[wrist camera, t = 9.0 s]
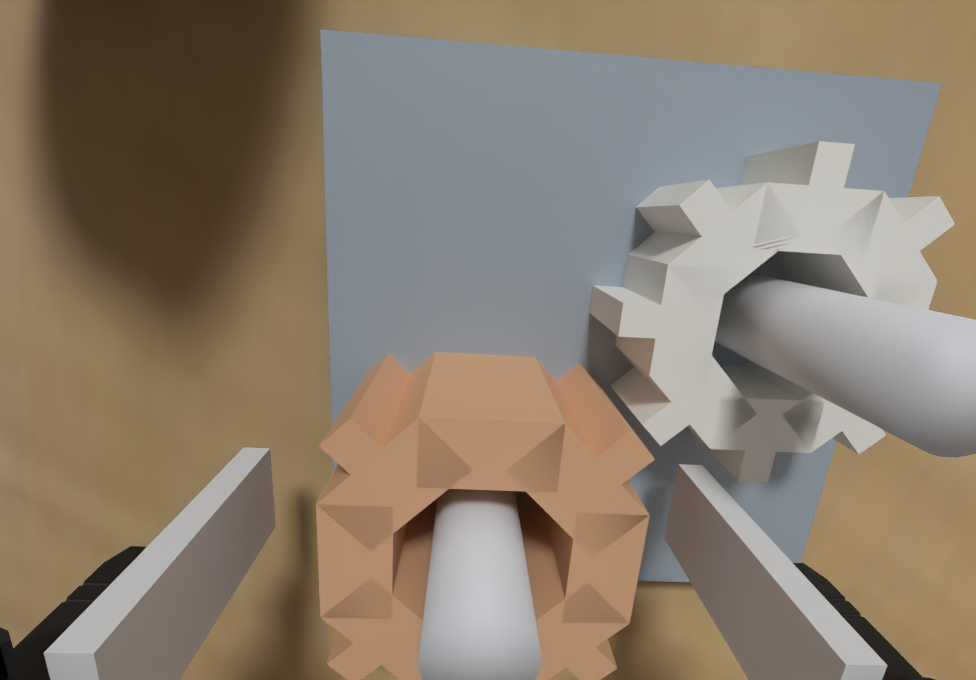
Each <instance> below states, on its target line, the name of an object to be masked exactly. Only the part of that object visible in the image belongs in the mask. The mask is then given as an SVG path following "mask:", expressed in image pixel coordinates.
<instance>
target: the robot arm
mask: <svg viewBox="0 0 976 680" xmlns="http://www.w3.org/2000/svg"><path fill="white" fill-rule="evenodd" d="M274 528H275V513H274V498H273V484H272V470H271V455H270V448H246V447H244V448H243V449H242V450H241V451H240V452H239V453H238V454H237V455H236V456H235V457H234V458H233V459H232V460H231V461H230V462H229V463H228V464H227V465H226V466H225V467H224V468H223V469H222V471H221V472H220V473H219V474H218V475H217V476H216V477H215V478H214V479H213V480H212V481H211V482H210V483H209V484H208V485H207V486H206V487H205V488H204V489H203V490H202V491H201V492H200V493H199V494H198V495H197V496H196V497H195V498H194V499H193V500H192V501H191V502H190V503H189V504H188V505H187V506H186V507H185V508H184V509H183V510H182V512H181V513H180V514H179V515H178V516H177V517H176V518H175V519H174V520H173V521H172V522H171V523H170V524H169V525H168V526H167V527H166V528H165V529H164V530H163V531H162V532H161V533H160V534H159V535H158V536H157V537H156V538H155V539H154V540H153V541H152V542H151V543H150V544H149V545H148V546H147V547H136V546H131V547H129V548H127V549H126V550H124V551H122V552H121V553H119V554H117V555H116V556H114V557H112V558H111V559H109V560H108V561H106V562H104V563H103V564H102V565H101V566H100V567H99V568H98V569H97V570H96V571H95V572H94V573H93V574H92V575H91V576H89V577H88V578H87V579H86V580H85V581H84V584H83V585H82V586H79V587H78V588H77V589H76V590H75V591H74V592H73V593H72V594H70V595H69V596H68V597H67V600H66V602H62V603H61V604H60V605H59V606H58V607H57V608H56V609H55V610H54V611H53V612H52V613H50V614H49V615H48V616H47V617H46V618H45V619H44V620H43V621H42V622H41V623H40V624H39V625H38V626H37V627H36V628H35V629H34V630H33V631H31V632H30V633H29V634H28V635H27V636H26V637H25V638H24V639H23V640H22V641H21V642H20V643H19V644H18V645H17V646H16V647H15V648H14V649H13V646H12V643H11V639H10V636H9V632H8V631H7V630H5V629H3V628H0V680H179V679H180V678H181V676H182V675H183V673H184V671H185V670H186V668H187V667H188V665H189V664H190V662H191V660H192V659H193V657H194V656H195V654H196V652H197V651H198V649H199V648H200V646H201V644H202V643H203V641H204V640H205V638H206V636H207V635H208V633H209V632H210V630H211V628H212V627H213V625H214V624H215V622H216V620H217V619H218V617H219V616H220V614H221V612H222V611H223V609H224V608H225V606H226V605H227V603H228V601H229V600H230V598H231V597H232V595H233V593H234V592H235V590H236V589H237V587H238V585H239V584H240V582H241V581H242V579H243V577H244V576H245V574H246V573H247V571H248V569H249V568H250V566H251V565H252V563H253V561H254V560H255V558H256V557H257V555H258V553H259V552H260V550H261V549H262V547H263V545H264V544H265V542H266V541H267V539H268V538H269V536H270V534H271V533H272V531H273V530H274ZM664 539H665V541H666V542H667V544H668V546H669V547H670V549H671V551H672V552H673V554H674V556H675V557H676V559H677V561H678V562H679V564H680V566H681V567H682V569H683V571H684V572H685V574H686V576H687V577H688V579H689V581H690V582H691V584H692V586H693V587H694V589H695V591H696V592H697V594H698V596H699V597H700V599H701V601H702V602H703V604H704V606H705V607H706V609H707V611H708V612H709V614H710V616H711V617H712V619H713V621H714V622H715V624H716V626H717V627H718V629H719V631H720V632H721V634H722V636H723V637H724V639H725V641H726V642H727V644H728V646H729V647H730V649H731V651H732V652H733V654H734V656H735V657H736V659H737V661H738V662H739V664H740V666H741V667H742V669H743V671H744V672H745V674H746V676H747V677H748V679H749V680H934V679H931V678H925V677H922V676H921V675H920V674H919V673H918V672H917V671H916V670H915V669H914V668H913V667H912V666H911V665H910V664H909V663H908V662H907V661H906V660H905V659H904V658H903V657H902V656H901V655H900V654H899V652H898V651H897V650H896V649H895V648H894V647H893V646H892V645H891V644H890V643H889V642H888V641H887V640H886V639H885V638H884V637H883V636H882V635H881V634H880V633H879V632H878V631H877V630H876V629H875V628H874V627H873V626H872V625H871V624H870V623H869V622H868V621H867V620H866V619H865V618H864V617H861V616H860V613H859V612H858V611H857V610H856V609H855V608H854V607H853V605H852V604H851V603H850V602H848V601H845V597H844V596H843V595H842V594H841V593H840V592H839V591H838V590H837V589H836V588H835V587H834V586H833V585H832V584H831V583H830V582H829V581H828V580H827V579H826V578H824V577H823V576H821V575H820V574H818V573H817V572H816V571H814V570H813V569H811V568H810V567H808V566H807V565H805V564H804V563H792V562H791V561H790V560H789V559H788V557H787V556H786V555H785V554H784V553H783V552H782V551H781V550H780V549H779V548H778V547H777V546H776V544H775V543H774V542H773V541H772V540H771V539H770V538H769V537H768V536H767V535H766V534H765V533H764V532H763V530H762V529H761V528H760V527H759V526H758V525H757V524H756V523H755V522H754V521H753V520H752V519H751V517H750V516H749V515H748V514H747V513H746V512H745V511H744V510H743V509H742V508H741V507H740V506H739V505H738V503H737V502H736V501H735V500H734V499H733V498H732V497H731V496H730V495H729V494H728V493H727V492H726V490H725V489H724V488H723V487H722V486H721V485H720V484H719V483H718V482H717V481H716V480H715V479H714V478H713V476H712V475H711V474H710V473H709V472H708V471H707V470H706V469H705V468H704V467H703V466H702V465H686V464H678V469H677V474H676V480H675V485H674V490H673V495H672V500H671V505H670V510H669V515H668V520H667V525H666V530H665V536H664Z"/></svg>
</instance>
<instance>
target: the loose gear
mask: <svg viewBox="0 0 976 680" xmlns="http://www.w3.org/2000/svg"><path fill="white" fill-rule="evenodd" d="M319 447H320V448H321V449H322V450H324V451H325V452H326V453H327V454H328V455H329V456H330V457H331V458H333V459H334V460H335V461H336V462H337V463H338V464H337V466H336V468H335V469H334V471H333V473H332V475H331V477H330V479H329V481H328V483H327V484H326V486H325V488H324V490H323V492H322V494H321V496H320V498H319V499H318V501H317V503H316V519H317V544H318V569H319V593H320V618H322V619H323V620H324V621H326V622H327V623H328V624H329V625H331V626H332V627H333V628H335V629H336V630H337V634H336V637H335V640H334V643H333V646H332V649H331V652H330V656H329V659H328V662H327V665H329V666H330V667H331V668H332V669H334V670H335V671H336V672H338V673H339V674H340V675H342V676H343V677H344V678H346V679H347V680H362V679H363V678H364V677H366V676H367V675H368V674H370V673H371V672H372V671H374V670H375V669H376V668H378V667H379V666H380V665H382V666H383V667H384V668H386V669H387V670H388V671H389V672H391V673H392V674H393V675H395V676H396V677H397V678H398V679H400V680H423V679H422V676H421V674H420V671H419V665H418V658H419V650H420V641H421V633H422V624H423V616H424V607H425V599H426V590H427V582H428V573H429V565H430V556H431V548H432V539H433V531H434V522H435V514H436V505H437V502H436V501H435V500H436V499H437V498H438V497H439V496H441V495H442V494H443V493H444V492H446V491H447V490H448V489H470V490H499V491H526V492H527V493H528V494H527V495H526V496H525V497H523V498H522V499H521V500H519V501H518V502H517V507H518V513H519V520H520V526H521V532H522V538H523V544H524V551H525V557H526V563H527V569H528V576H529V582H530V588H531V594H532V600H533V607H534V613H535V619H536V625H537V631H538V638H539V644H540V650H541V665H540V669H539V672H538V674H537V676H536V678H535V680H549V679H550V678H552V677H553V676H555V675H556V674H557V673H559V672H560V671H562V670H563V669H565V668H567V669H568V670H569V671H570V672H571V673H572V674H574V675H575V676H576V677H577V678H578V679H579V680H601V679H602V678H604V677H605V676H607V675H608V674H610V673H611V672H613V671H614V670H616V669H617V666H616V663H615V660H614V657H613V653H612V650H611V647H610V644H609V641H608V638H610V637H611V636H612V635H614V634H615V633H617V632H618V631H620V630H621V629H623V628H624V627H626V626H627V625H628V624H630V619H631V614H632V608H633V603H634V597H635V592H636V587H637V581H638V576H639V570H640V565H641V560H642V554H643V549H644V543H645V538H646V532H647V527H648V522H649V516H650V515H649V513H648V512H647V510H646V508H645V507H644V505H643V503H642V502H641V500H640V498H639V497H638V495H637V493H636V492H635V490H634V488H633V486H632V485H631V483H630V481H629V480H628V479H630V478H631V477H632V476H634V475H635V474H636V473H638V472H639V471H640V470H642V469H643V468H644V467H646V466H647V465H648V464H650V463H651V462H652V461H654V460H655V458H654V457H653V456H652V454H651V453H650V452H649V450H648V449H647V448H646V447H645V445H644V444H643V443H642V441H641V440H640V439H639V437H638V436H637V435H636V433H635V432H634V431H633V429H632V428H631V427H630V425H629V424H628V423H627V421H626V420H625V419H624V417H623V416H622V415H621V413H620V412H619V411H618V409H617V408H616V407H615V406H614V404H613V403H612V402H611V400H610V399H609V398H608V396H607V395H606V394H605V392H604V391H603V390H602V388H601V387H600V386H599V384H598V383H597V382H596V381H595V380H594V378H593V377H592V376H591V375H590V374H589V373H588V372H587V370H586V369H585V368H584V367H583V366H582V365H581V364H580V363H578V364H577V365H576V366H575V367H574V368H572V369H571V370H570V371H569V372H567V373H566V374H565V375H564V376H563V377H561V378H560V379H559V380H558V381H556V380H555V379H554V378H553V377H552V376H551V374H550V373H549V372H548V371H547V370H546V369H545V368H544V367H543V365H542V364H541V363H540V362H539V361H538V360H537V359H536V358H535V357H525V356H505V355H485V354H466V353H446V352H435V353H434V354H433V355H432V356H430V357H429V358H428V359H427V360H426V361H425V362H424V363H422V364H421V365H420V366H419V367H418V368H417V369H415V370H414V371H413V372H412V373H411V374H409V373H408V372H407V371H406V370H405V369H404V367H403V366H402V365H401V364H400V363H399V362H398V361H397V360H396V359H395V358H394V357H393V356H392V355H391V354H390V353H388V354H387V355H386V356H385V357H384V358H383V359H381V360H380V361H379V362H378V363H377V364H376V365H375V366H374V367H372V368H371V369H370V370H369V371H368V372H367V373H366V375H365V376H364V378H363V379H362V381H361V382H360V384H359V385H358V387H357V388H356V390H355V392H354V393H353V395H352V396H351V398H350V399H349V401H348V402H347V404H346V405H345V407H344V408H343V410H342V411H341V413H340V414H339V416H338V417H337V419H336V420H335V422H334V423H333V425H332V426H331V428H330V430H329V431H328V433H327V434H326V436H325V437H324V439H323V440H322V442H321V443H320V445H319Z"/></svg>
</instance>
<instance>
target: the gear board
mask: <svg viewBox="0 0 976 680" xmlns="http://www.w3.org/2000/svg"><path fill="white" fill-rule="evenodd" d="M320 34H321V69H322V103H323V138H324V172H325V207H326V241H327V276H328V310H329V345H330V379H331V414H332V425H333V423H334V422H335V420H336V419H337V417H338V416H339V414H340V413H341V411H342V410H343V408H344V407H345V405H346V404H347V402H348V401H349V399H350V398H351V396H352V395H353V393H354V392H355V390H356V388H357V387H358V385H359V384H360V382H361V381H362V379H363V378H364V376H365V375H366V373H367V372H368V371H369V370H370V369H371V368H372V367H374V366H375V365H376V364H377V363H378V362H379V361H380V360H381V359H383V358H384V357H385V356H386V355H387V354H388V353H390V354H391V355H392V356H393V357H394V358H395V359H396V360H397V361H398V362H399V363H400V364H401V365H402V366H403V367H404V369H405V370H406V371H407V372H408V373H409V374H411V373H412V372H413V371H414V370H415V369H417V368H418V367H419V366H420V365H421V364H422V363H424V362H425V361H426V360H427V359H428V358H429V357H430V356H432V355H433V354H434V353H435V352H446V353H466V354H485V355H505V356H525V357H535V358H536V359H537V360H538V361H539V362H540V363H541V364H542V365H543V367H544V368H545V369H546V370H547V371H548V372H549V373H550V374H551V376H552V377H553V378H554V379H555V380H556V381H558V380H559V379H560V378H561V377H563V376H564V375H565V374H566V373H567V372H569V371H570V370H571V369H572V368H574V367H575V366H576V365H577V364H578V363H580V364H581V365H582V366H583V367H584V368H585V369H586V370H587V372H588V373H589V374H590V375H591V376H592V377H593V378H594V380H595V381H596V382H597V383H598V384H599V386H600V387H601V388H602V390H603V391H604V392H605V394H606V395H607V396H608V398H609V399H610V400H611V402H612V403H613V404H614V406H615V407H616V408H617V409H618V411H619V412H620V413H621V415H622V416H623V417H624V419H625V420H626V421H627V423H628V424H629V425H630V427H631V428H632V429H633V431H634V432H635V433H636V435H637V436H638V437H639V439H640V440H641V441H642V443H643V444H644V445H645V447H646V448H647V449H648V450H649V452H650V453H651V454H652V456H653V457H654V458H655V460H654V461H652V462H651V463H650V464H648V465H647V466H646V467H644V468H643V469H642V470H640V471H639V472H638V473H636V474H635V475H634V476H632V477H631V478H630V479H628V480H629V481H630V483H631V485H632V486H633V488H634V490H635V492H636V493H637V495H638V497H639V498H640V500H641V502H642V503H643V505H644V507H645V508H646V510H647V512H648V513H649V515H650V516H649V522H648V527H647V532H646V538H645V543H644V549H643V554H642V560H641V565H640V570H639V576H638V581H659V582H690V581H689V579H688V577H687V576H686V574H685V572H684V571H683V569H682V567H681V566H680V564H679V562H678V561H677V559H676V557H675V556H674V554H673V552H672V551H671V549H670V547H669V546H668V544H667V542H666V541H665V539H664V536H665V530H666V525H667V520H668V515H669V510H670V505H671V500H672V495H673V490H674V485H675V480H676V474H677V469H678V464H686V465H702V466H703V467H704V468H705V469H706V470H707V471H708V472H709V473H710V474H711V475H712V476H713V478H714V479H715V480H716V481H717V482H718V483H719V484H720V485H721V486H722V487H723V488H724V489H725V490H726V492H727V493H728V494H729V495H730V496H731V497H732V498H733V499H734V500H735V501H736V502H737V503H738V505H739V506H740V507H741V508H742V509H743V510H744V511H745V512H746V513H747V514H748V515H749V516H750V517H751V519H752V520H753V521H754V522H755V523H756V524H757V525H758V526H759V527H760V528H761V529H762V530H763V532H764V533H765V534H766V535H767V536H768V537H769V538H770V539H771V540H772V541H773V542H774V543H775V544H776V546H777V547H778V548H779V549H780V550H781V551H782V552H783V553H784V554H785V555H786V556H787V557H788V559H789V560H790V561H791V562H792V563H801V559H802V556H803V552H804V549H805V546H806V542H807V539H808V535H809V532H810V529H811V525H812V522H813V518H814V515H815V512H816V508H817V505H818V502H819V498H820V495H821V491H822V488H823V485H824V481H825V478H826V474H827V471H828V468H829V464H830V461H831V457H832V454H833V451H834V447H835V444H836V441H838V442H840V443H841V444H843V445H845V446H846V447H848V448H849V449H851V450H853V451H854V452H856V453H858V454H860V453H861V452H863V451H864V450H866V449H867V448H868V447H870V446H871V445H873V444H874V443H876V442H877V441H879V440H880V439H881V438H883V437H884V436H886V434H885V433H884V431H883V430H885V431H887V432H889V433H891V434H893V435H895V436H897V437H899V438H901V439H903V440H904V441H906V442H908V443H910V444H912V445H914V446H916V447H918V448H920V449H922V450H924V451H926V452H928V453H931V454H933V455H937V456H943V457H960V456H966V455H970V454H974V453H976V320H974V319H969V318H964V317H959V316H954V315H950V314H945V313H940V312H935V311H930V310H928V308H929V305H930V302H931V299H932V296H933V293H934V290H935V287H936V284H937V280H936V278H935V276H934V275H933V273H932V271H931V270H930V268H929V266H928V265H927V263H926V261H925V259H924V258H923V256H922V254H921V253H920V250H921V249H923V248H924V247H925V246H927V245H928V244H929V243H931V242H932V241H933V240H935V239H936V238H937V237H939V236H940V235H941V234H943V233H944V232H945V231H947V230H948V229H949V228H951V227H952V226H953V225H955V224H954V222H953V220H952V218H951V216H950V215H949V213H948V211H947V209H946V207H945V205H944V204H943V202H942V200H941V198H940V196H932V197H909V193H910V190H911V186H912V183H913V180H914V176H915V173H916V169H917V166H918V163H919V159H920V156H921V153H922V149H923V146H924V142H925V139H926V136H927V132H928V129H929V125H930V122H931V119H932V115H933V112H934V108H935V105H936V102H937V98H938V95H939V92H940V88H941V85H942V83H932V82H921V81H909V80H898V79H886V78H875V77H863V76H852V75H840V74H829V73H817V72H806V71H794V70H783V69H771V68H760V67H748V66H737V65H725V64H714V63H702V62H691V61H679V60H668V59H656V58H645V57H633V56H622V55H610V54H599V53H587V52H576V51H564V50H553V49H542V48H530V47H519V46H507V45H496V44H484V43H473V42H461V41H450V40H438V39H427V38H415V37H404V36H392V35H381V34H369V33H358V32H346V31H335V30H323V29H320ZM882 429H883V430H882ZM337 464H338V463H337V462H336V461H335V460H334V459H333V471H334V469H335V468H336V466H337ZM527 494H528V493H527V492H526V491H499V490H470V489H448V490H447V491H446V492H444V493H443V494H442V495H441V496H439V497H438V498H437V499H436V500H435V501H436V502H437V505H436V514H435V522H434V531H433V539H432V548H431V556H430V565H429V573H428V582H427V590H426V599H425V607H424V616H423V624H422V633H421V641H420V650H419V658H418V665H419V671H420V674H421V676H422V679H423V680H535V678H536V676H537V674H538V672H539V669H540V665H541V650H540V644H539V638H538V631H537V625H536V619H535V613H534V607H533V600H532V594H531V588H530V582H529V576H528V569H527V563H526V557H525V551H524V544H523V538H522V532H521V526H520V520H519V513H518V507H517V502H518V501H519V500H521V499H522V498H523V497H525V496H526V495H527Z"/></svg>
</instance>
